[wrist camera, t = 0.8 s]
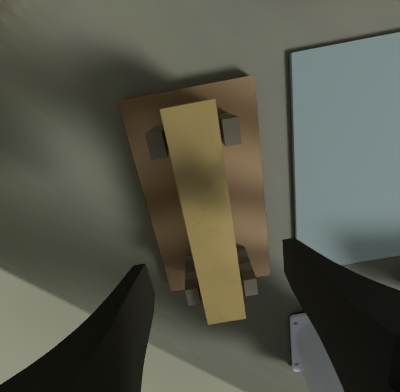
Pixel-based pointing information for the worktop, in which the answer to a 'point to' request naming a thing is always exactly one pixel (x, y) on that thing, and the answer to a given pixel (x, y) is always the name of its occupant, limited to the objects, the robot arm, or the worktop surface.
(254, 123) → the hook stand
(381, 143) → the rubber mat
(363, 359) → the robot arm
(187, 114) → the brass rail
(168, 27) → the worktop surface
